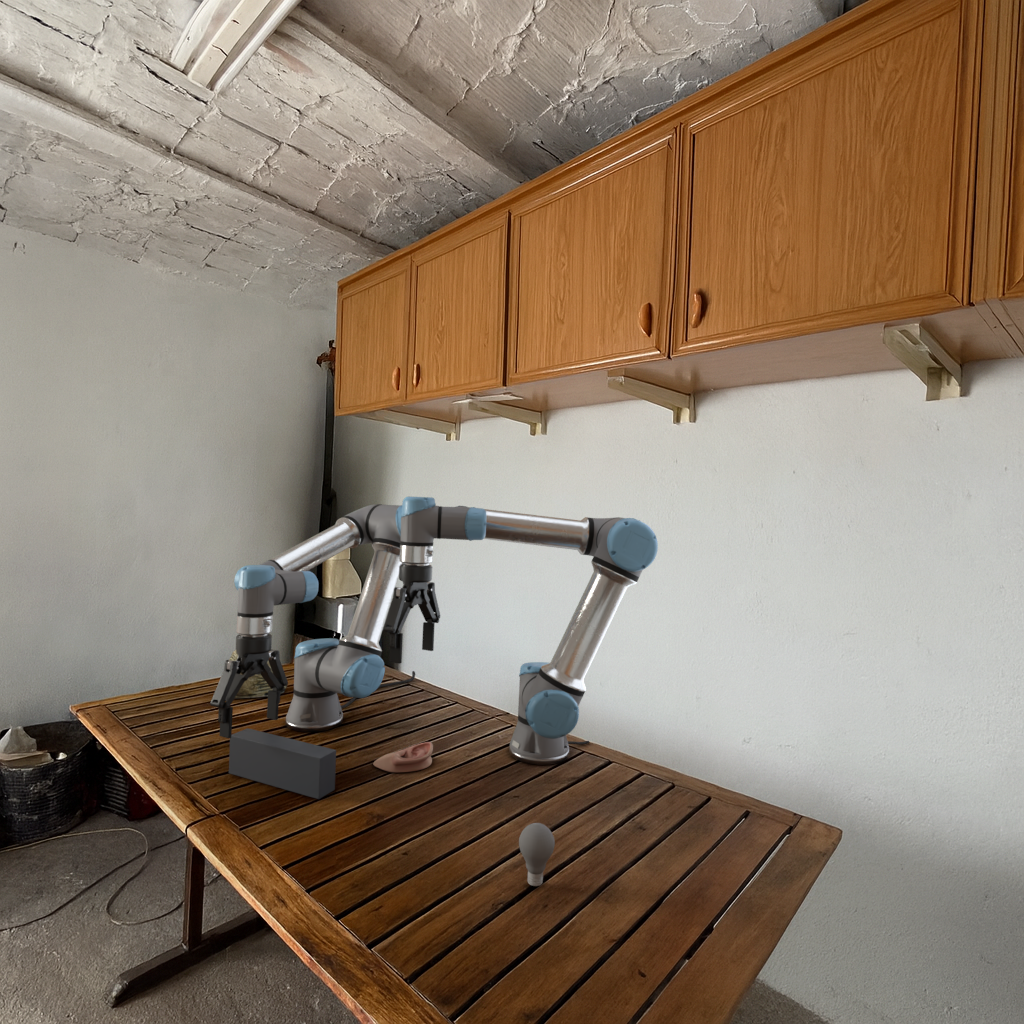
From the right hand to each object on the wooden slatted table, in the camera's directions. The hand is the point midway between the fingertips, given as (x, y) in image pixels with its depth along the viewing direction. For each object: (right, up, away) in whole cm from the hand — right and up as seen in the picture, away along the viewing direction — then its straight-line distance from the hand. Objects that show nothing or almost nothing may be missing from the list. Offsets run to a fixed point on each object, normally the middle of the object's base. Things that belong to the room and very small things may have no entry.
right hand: (412, 656), depth 145 cm
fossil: (-58, -24, +53) cm, 82 cm away
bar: (-28, -27, -5) cm, 39 cm away
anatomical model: (-3, -27, +7) cm, 28 cm away
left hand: (-36, -16, -2) cm, 40 cm away
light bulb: (+27, -30, -39) cm, 56 cm away
